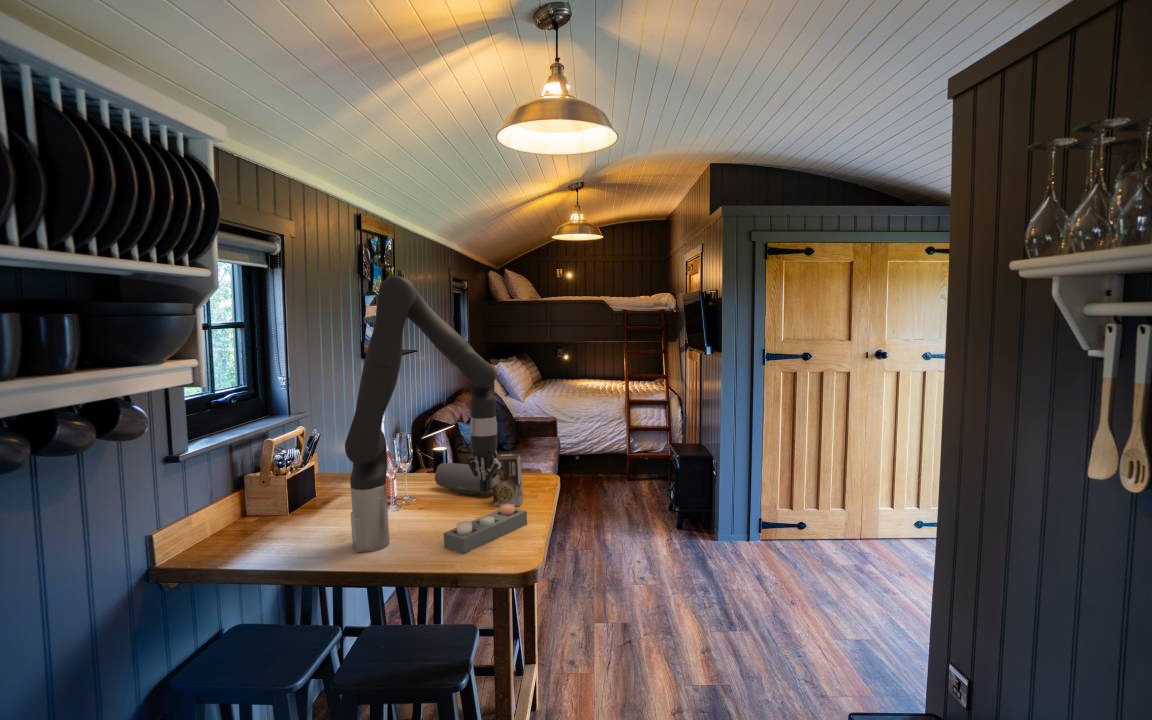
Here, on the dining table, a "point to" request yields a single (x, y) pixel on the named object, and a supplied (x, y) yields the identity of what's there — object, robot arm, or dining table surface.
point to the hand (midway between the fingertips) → (485, 492)
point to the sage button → (487, 520)
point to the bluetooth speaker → (459, 478)
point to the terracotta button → (507, 509)
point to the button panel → (485, 531)
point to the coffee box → (508, 481)
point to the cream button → (464, 528)
